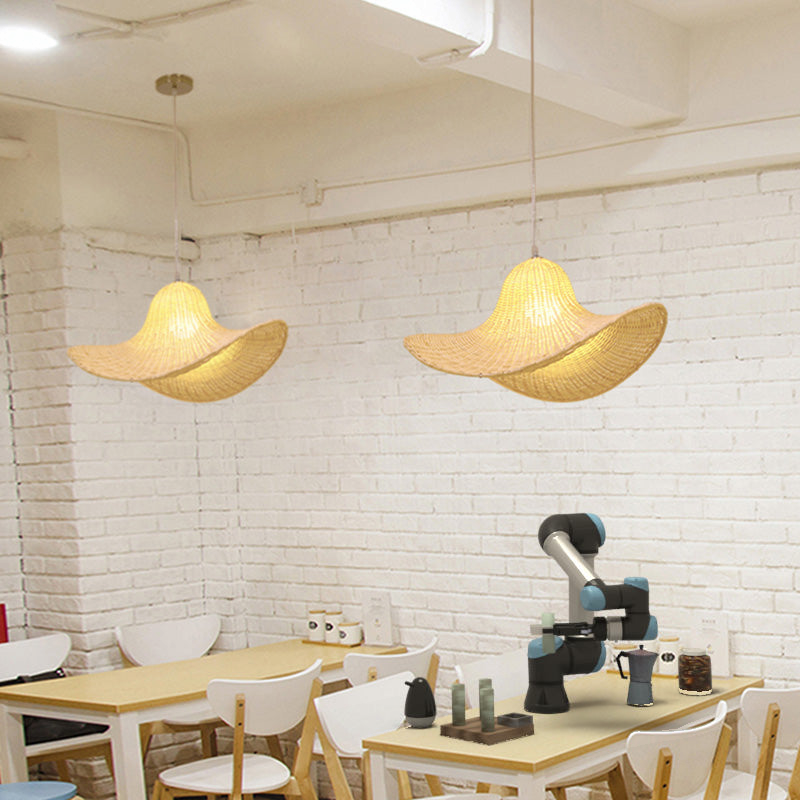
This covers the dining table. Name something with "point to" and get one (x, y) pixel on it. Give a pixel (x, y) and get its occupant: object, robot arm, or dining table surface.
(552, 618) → the green leg
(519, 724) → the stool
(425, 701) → the pump dispenser
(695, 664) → the jar
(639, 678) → the moka pot
